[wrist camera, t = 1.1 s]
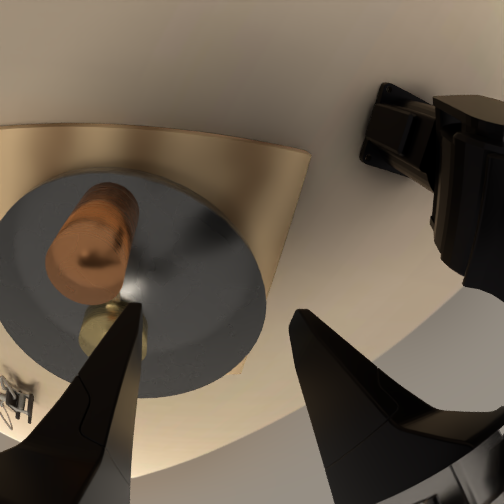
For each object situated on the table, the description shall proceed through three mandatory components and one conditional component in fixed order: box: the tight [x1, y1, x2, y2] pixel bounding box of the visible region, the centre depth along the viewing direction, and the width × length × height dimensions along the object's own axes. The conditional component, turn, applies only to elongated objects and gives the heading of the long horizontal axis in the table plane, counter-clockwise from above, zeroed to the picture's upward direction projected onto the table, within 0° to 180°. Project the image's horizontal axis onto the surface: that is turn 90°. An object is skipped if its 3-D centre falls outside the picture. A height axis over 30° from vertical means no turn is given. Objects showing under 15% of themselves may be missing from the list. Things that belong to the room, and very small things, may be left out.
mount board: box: [0, 123, 312, 374], centre depth 20 cm, size 23×23×4 cm
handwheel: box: [0, 167, 266, 398], centre depth 16 cm, size 20×20×6 cm
